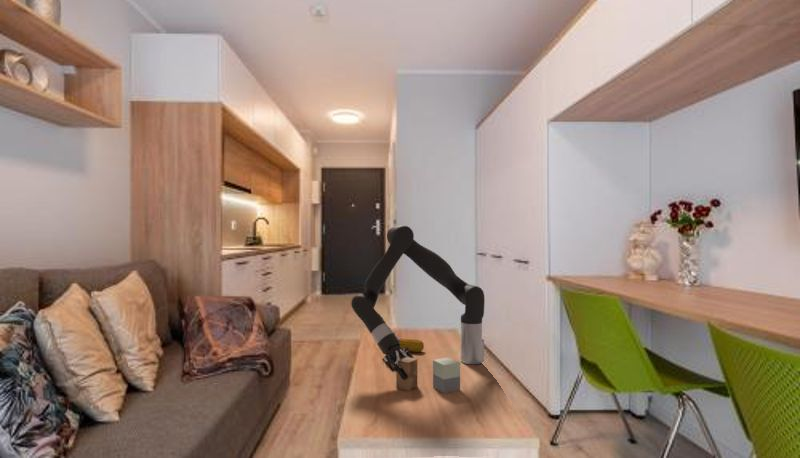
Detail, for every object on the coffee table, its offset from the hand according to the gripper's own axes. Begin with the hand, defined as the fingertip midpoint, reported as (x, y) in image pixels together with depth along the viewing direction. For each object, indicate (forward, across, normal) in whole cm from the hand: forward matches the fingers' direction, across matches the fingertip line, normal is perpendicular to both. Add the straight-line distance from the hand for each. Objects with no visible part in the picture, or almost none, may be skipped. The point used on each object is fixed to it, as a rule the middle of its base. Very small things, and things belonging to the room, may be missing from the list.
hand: (410, 376), depth 155 cm
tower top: (+7, +7, -8) cm, 13 cm away
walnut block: (+2, 0, +4) cm, 5 cm away
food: (-20, +39, +26) cm, 51 cm away
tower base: (+11, +7, -4) cm, 14 cm away
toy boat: (-14, +22, +21) cm, 33 cm away
